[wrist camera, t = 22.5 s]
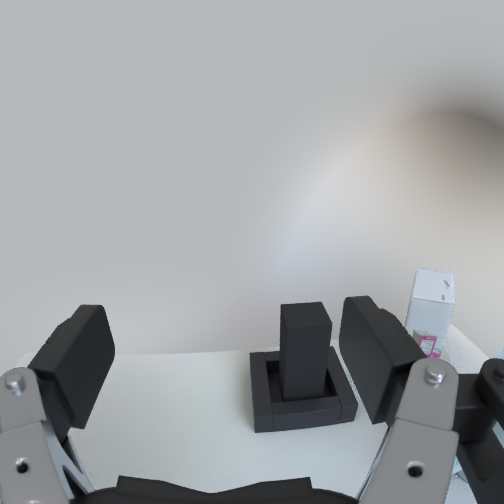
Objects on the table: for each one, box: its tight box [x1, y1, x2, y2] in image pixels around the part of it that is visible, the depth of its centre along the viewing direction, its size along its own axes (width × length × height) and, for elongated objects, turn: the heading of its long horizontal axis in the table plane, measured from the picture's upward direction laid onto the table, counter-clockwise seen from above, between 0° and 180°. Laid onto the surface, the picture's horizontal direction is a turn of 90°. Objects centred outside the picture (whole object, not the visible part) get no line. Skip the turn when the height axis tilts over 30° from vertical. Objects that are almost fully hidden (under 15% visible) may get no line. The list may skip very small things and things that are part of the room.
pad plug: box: [279, 302, 332, 402], centre depth 30 cm, size 4×4×10 cm
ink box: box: [404, 268, 455, 359], centre depth 32 cm, size 9×5×12 cm, turn 149°
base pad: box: [250, 346, 358, 433], centre depth 31 cm, size 10×10×3 cm
